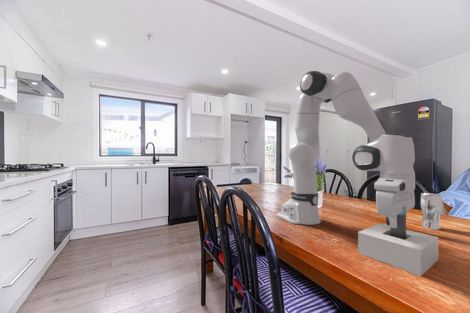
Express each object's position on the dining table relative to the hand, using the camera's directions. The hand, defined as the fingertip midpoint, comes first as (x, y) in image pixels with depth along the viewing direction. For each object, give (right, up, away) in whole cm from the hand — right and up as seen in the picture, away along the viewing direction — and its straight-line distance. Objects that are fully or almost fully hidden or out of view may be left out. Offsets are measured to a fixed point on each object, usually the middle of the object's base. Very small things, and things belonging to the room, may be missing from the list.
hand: (397, 225), depth 66 cm
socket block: (0, -10, 0) cm, 10 cm away
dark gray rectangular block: (0, -6, 0) cm, 6 cm away
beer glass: (+36, -10, +26) cm, 45 cm away
